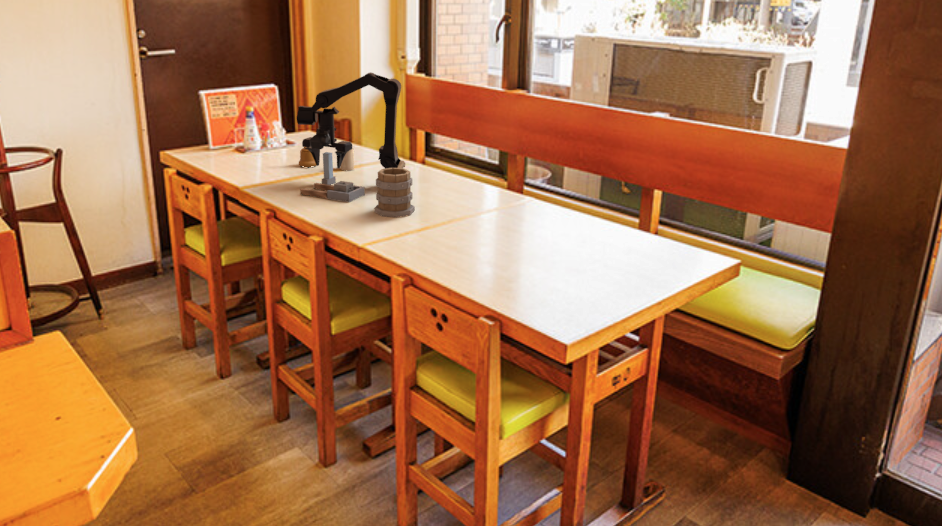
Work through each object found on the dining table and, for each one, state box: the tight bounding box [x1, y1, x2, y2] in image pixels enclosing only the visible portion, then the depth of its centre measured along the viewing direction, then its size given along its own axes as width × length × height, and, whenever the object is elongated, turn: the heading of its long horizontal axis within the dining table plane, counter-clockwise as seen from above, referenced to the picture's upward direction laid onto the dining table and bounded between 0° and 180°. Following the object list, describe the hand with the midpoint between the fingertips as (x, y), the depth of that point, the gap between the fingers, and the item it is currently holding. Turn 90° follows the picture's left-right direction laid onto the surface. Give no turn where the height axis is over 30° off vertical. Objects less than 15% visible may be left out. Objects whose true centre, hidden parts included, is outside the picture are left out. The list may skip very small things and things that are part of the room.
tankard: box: [373, 160, 416, 218], centre depth 255 cm, size 20×13×15 cm, turn 168°
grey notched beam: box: [321, 151, 337, 185], centre depth 283 cm, size 2×6×12 cm, turn 157°
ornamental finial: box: [298, 147, 317, 167], centre depth 309 cm, size 8×8×8 cm
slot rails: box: [300, 182, 334, 199], centre depth 273 cm, size 11×10×2 cm
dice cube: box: [333, 180, 354, 193], centre depth 269 cm, size 5×5×5 cm
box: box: [326, 184, 366, 203], centre depth 269 cm, size 9×10×3 cm
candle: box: [340, 147, 355, 172], centre depth 305 cm, size 6×6×10 cm
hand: (328, 166), depth 283 cm, fingers open, 9 cm apart
